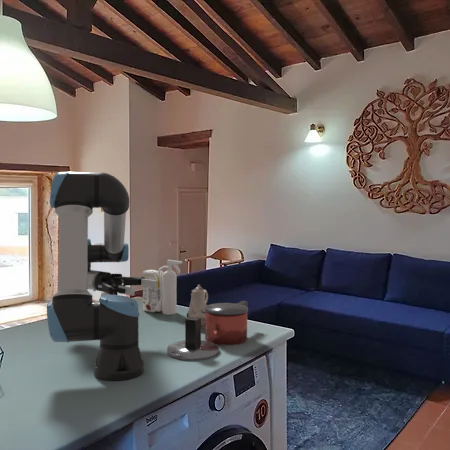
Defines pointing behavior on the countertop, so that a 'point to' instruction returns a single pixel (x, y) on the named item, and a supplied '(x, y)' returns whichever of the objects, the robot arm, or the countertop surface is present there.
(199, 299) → the chinaware
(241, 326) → the pot
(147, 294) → the juice carton
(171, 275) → the fire extinguisher
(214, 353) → the lid
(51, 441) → the countertop surface
